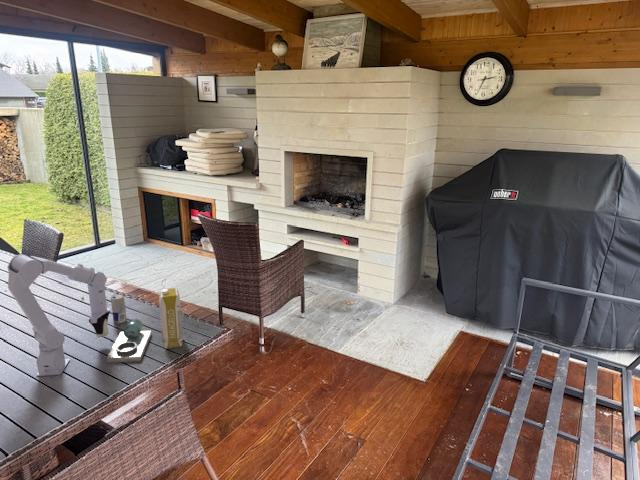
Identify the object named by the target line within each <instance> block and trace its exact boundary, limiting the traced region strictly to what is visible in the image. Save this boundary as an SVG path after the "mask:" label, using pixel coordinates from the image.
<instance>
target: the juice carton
mask: <svg viewBox="0 0 640 480" xmlns="http://www.w3.org/2000/svg"><path fill="white" fill-rule="evenodd" d="M158 299H159V301H158V302H159V313H160V314H159V315H160V326H161V327H160V328H161V337H162V343H163V346H164V348H165V349H171V348H172V349H173V348H179V347H180V348H181V347H182V345H183V342H184V341H183V338H184V335H183V333H184V332H183V317H182V315H183V314H182V306H181V305H182V303H181V297H180V293H179V290H178V288H177V287H174V288H164V289H160V290H159V298H158Z"/></svg>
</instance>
